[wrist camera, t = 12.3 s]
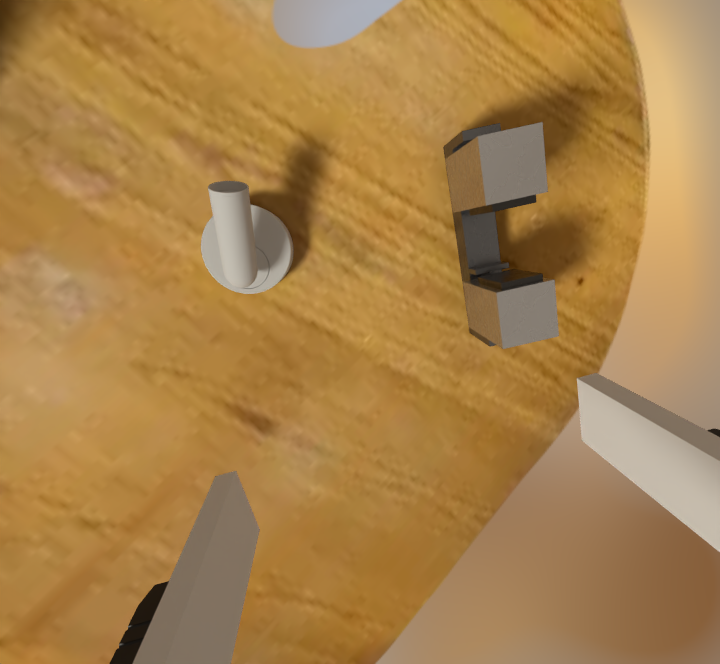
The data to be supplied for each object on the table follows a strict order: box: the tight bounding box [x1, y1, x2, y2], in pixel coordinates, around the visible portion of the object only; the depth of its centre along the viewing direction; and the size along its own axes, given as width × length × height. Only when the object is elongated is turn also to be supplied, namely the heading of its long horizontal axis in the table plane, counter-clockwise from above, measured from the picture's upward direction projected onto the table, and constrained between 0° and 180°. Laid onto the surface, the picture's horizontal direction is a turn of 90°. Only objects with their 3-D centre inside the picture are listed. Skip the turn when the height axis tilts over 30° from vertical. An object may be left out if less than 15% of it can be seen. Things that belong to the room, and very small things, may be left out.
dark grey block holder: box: [443, 122, 548, 346], centre depth 34 cm, size 20×5×10 cm, turn 12°
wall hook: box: [201, 181, 294, 294], centre depth 33 cm, size 9×10×10 cm
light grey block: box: [463, 269, 559, 349], centre depth 35 cm, size 6×5×8 cm
